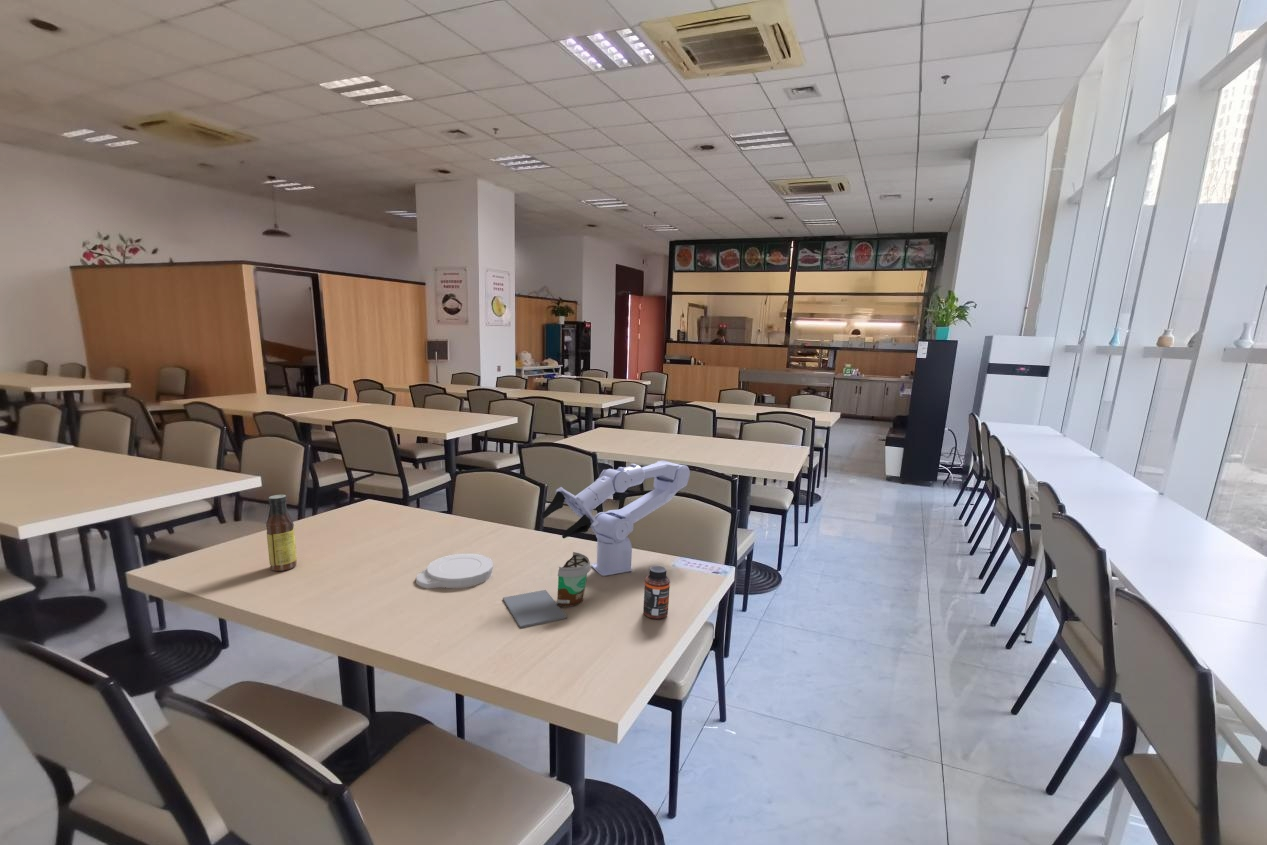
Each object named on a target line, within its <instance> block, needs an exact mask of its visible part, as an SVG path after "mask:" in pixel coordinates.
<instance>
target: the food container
mask: <svg viewBox="0 0 1267 845" xmlns="http://www.w3.org/2000/svg"><path fill="white" fill-rule="evenodd" d="M591 567H592V566H591V561H590V560H589V557H588V556H586V555H585V554H582V553H580V552H574V551H573V552H572V556H571V558H570V559H568V560H566V562H565V564H564V565H563V566H562V567H561V566H559V567H558V571H557V577H558V580H557V596H556V598H557V599H556V603H557V606H559V607H574V606H577V605H580V604H581V603H582V602H583V601H584V596H585V590H586V583H587V578H588V577H587V576H588V573H590V572H591V569H592V568H591Z"/></svg>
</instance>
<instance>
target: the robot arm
mask: <svg viewBox="0 0 1267 845" xmlns="http://www.w3.org/2000/svg"><path fill="white" fill-rule="evenodd" d="M690 474H691V472H690V468H689V467H688V465H686V464H679V463H674V462H670V461H668V460H664V459H662V460H657V461H656V462H654V463H652V464H649V465H644V466H642V467H641V466H640V465H639V464H636V463H630V465H629V466H626V467H625V466H623V467H622V466H618V468H617V469H614V468H608V469H603V470H602V471H601V473H600V475H599V477H597V479H595V481H594V482H592V483H591V484H590V485H588V486H587V487H585V488H584V489H583V490H581V491H580V492H579V493H576V495H575V494H573V493H571V492H570V491H568V490H566V489H564V488H563V487H562V486H560V487H558V488H557V489H555V492H554V494H555V496H554V497H553V499H552V501H551V502H550V504H549V505H548V506H547V508H546V509H544V511H543V512H542V515H541V518H542V519H546V518H547V517H549V516H550V515H551V514H553V513H555V512H556V511H558V510H560V509H563V507H564V503H565V504H566V505H567V506H568V507H570V509H571V511H572V512H573V513H574V514H575V516H578V517H579V519H578V520H577V521H576V522H575V523H574V524H572V525H571V526H570V527H568V528H567V529H565V530H564V531H563V532H562V535H561V537H562V539H566V538H568V537H570V536H571V537H572V536H573V535H577V534H582V533H583V534H584V533H587V532H588V531H589V529H590V530H592V531H593V532H594V534H595V537H596V539H597V541H596V542H597V543H596V544H597V545H596V563H595V562H594V563H590V567H592V569H594V570H595V571H596V572H597V573H598V574H599V575H600V576H602V577H605V576H606V577H607V576H612V575H615V574H616V575H617V574H622V573H627V572H632V571H633V568H632V552H633V547H632V542H631V540H630V538H629V537H628V535H630V534H631V533H632V532H633V531H634V524H635V523H636V522H639V521H640V520H641V519H643V518H645V517H647V516H648V515H650V514H651V513H653V512H654V511H656V510H658V509H659V508H660V507H663V506H664V505H666V504H667V503H668V502H670V501H671V500H672V499H673V498H674V497H675V495H676V494H677V493H678V492H679V491H680V490H682V489H683V488H685V487H687V486H688V483H689V479H690V477H691V475H690ZM651 478H653V485H652V486H653V488H654V489H652V490H651V491H649V492H647V493H646V494H644V495H642V496H640V497H639V498H637V499H635V500H634V501H632V502H630V503H628V504H627V505H625V506H623V507H622V508H620V509H609V510H607V511H601V512H598V513H596V515H594V514H593V513H592V511H593V510H595V509H596V508H597V507H598V506H599V505H601V504H602V503H604V502H605V501H606V500H608V499H609V498H610V497H612V496H613V495H614V494H616V493H625V491H627V489H628V488H630V487H634V486H638V485H641V484H643V482H644V480H646V479H651Z"/></svg>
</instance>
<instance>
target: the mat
mask: <svg viewBox="0 0 1267 845" xmlns="http://www.w3.org/2000/svg"><path fill="white" fill-rule="evenodd" d="M502 601H503V603H504V604H505V606H506V607H507V608H508V610H509V612H510V614H511V615H512V617H513V618H514V620H515V622H516V623H517V625H518V627H519V629H522V628H527V627H531V626H536V625H542V624H546V623H550V622H555V621H560V620H565V618H566V619H567V618H568V616H567V614H566V613H565V612H564V611H563V609H562V608H561V606H557V601H556V600H554V598H553V596H552V595H550V593H549V592H548V591H547V590H546V589H544V590H543V589H542V590H538V591H537V590H536V591H534V592H533V591H530V592H526V593H522V594H520V593H519V594H516V595H509V596H504V597H502Z"/></svg>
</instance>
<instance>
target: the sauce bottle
mask: <svg viewBox="0 0 1267 845" xmlns="http://www.w3.org/2000/svg"><path fill="white" fill-rule="evenodd" d="M267 499H268V500H267V501H268V503H269V510H270V511H269V513H270V514H269V517H268V518H267V521H266V526H265V527H266V539H267V540H266V541H267V548H268V559H269V561H268V562H269V566H270V570H271V571H275V572H283V571H288V570H291V569H293V568H295V567H296V566H297V562H298V561H297V560H298V559H297V558H298V557H297V546H296V545H297V544H296V536H295V525H294V522H293V520H292V517H291V516H290V514H289V511H288V508H287V500H288V498H287V495H286V494H275V495H271V496H269V497H268V498H267Z"/></svg>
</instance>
